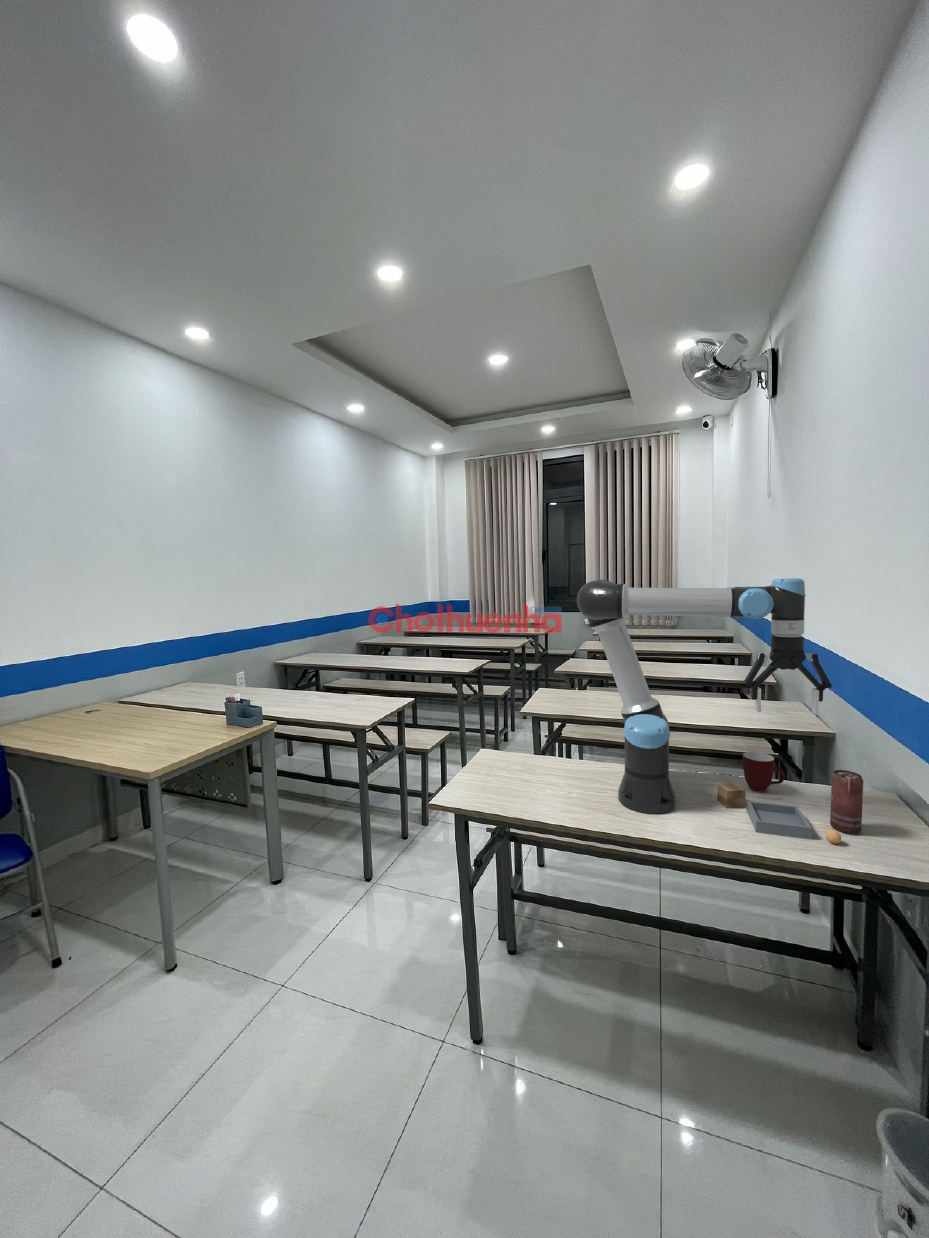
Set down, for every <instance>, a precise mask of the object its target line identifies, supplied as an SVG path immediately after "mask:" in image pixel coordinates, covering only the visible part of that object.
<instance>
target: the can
mask: <svg viewBox="0 0 929 1238" xmlns="http://www.w3.org/2000/svg"><path fill="white" fill-rule="evenodd" d="M830 791H831V792H830V813H829V815H830V816H829V817H830V819H829V820H830V821H829V825H830V826H831V828H832V830H835V831H837V832H839V833H842V834H846V835H851V836H852V835H854V836H855V835H858V834H860V833H861V832H862V823H863V822H862V821H863V820H862V819H863V798H864V779H863V776H862V775H861V774H860V773H858V772H854V771H850V770H846V769H845V770H844V769H835V770H834V771H833V773H831V789H830Z"/></svg>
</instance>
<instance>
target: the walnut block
mask: <svg viewBox="0 0 929 1238" xmlns="http://www.w3.org/2000/svg"><path fill="white" fill-rule="evenodd" d="M716 792H717V794H716V796H717V797H716V800H717V801H718V802H719V803H720V804H721V805H722V806H723V807H724V808H726V809H742V808H743V809H745V808H746V789H744V788H743V787H742V786H741V785H739V784H738V783H737V782H719V783H718V782H717V791H716Z"/></svg>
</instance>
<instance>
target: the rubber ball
mask: <svg viewBox="0 0 929 1238" xmlns="http://www.w3.org/2000/svg"><path fill="white" fill-rule="evenodd" d="M842 838H843V837H842V835H841V832H839V831H837V830H835V829H828V830H826V832H825V839H826V840H827V841H828V842H830V843H831V844H835V845H836V844H839V843H841V842H842V840H843V839H842Z"/></svg>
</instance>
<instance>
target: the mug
mask: <svg viewBox="0 0 929 1238" xmlns="http://www.w3.org/2000/svg"><path fill="white" fill-rule="evenodd" d="M741 759H742V760H741V763H742V768H743V769H742V770H743V775H744V780H745V782H746V785H747V786H748V787H749V789H750V790H751V791H753V792H756V793H765V792H766V791H767V790H768V788H770V786H771V785H780V784H782V783H784V781H785V778H786V775H785V773H784V771H783V769H781V768H780V767H778V766H776V765H775V757H774V756H773V755H771V754H768V753H765V752H759V751H745V752H743V753H742V757H741ZM775 771H777V772H778V773H779V774H780V779H779V780H773V776H774V772H775Z"/></svg>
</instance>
